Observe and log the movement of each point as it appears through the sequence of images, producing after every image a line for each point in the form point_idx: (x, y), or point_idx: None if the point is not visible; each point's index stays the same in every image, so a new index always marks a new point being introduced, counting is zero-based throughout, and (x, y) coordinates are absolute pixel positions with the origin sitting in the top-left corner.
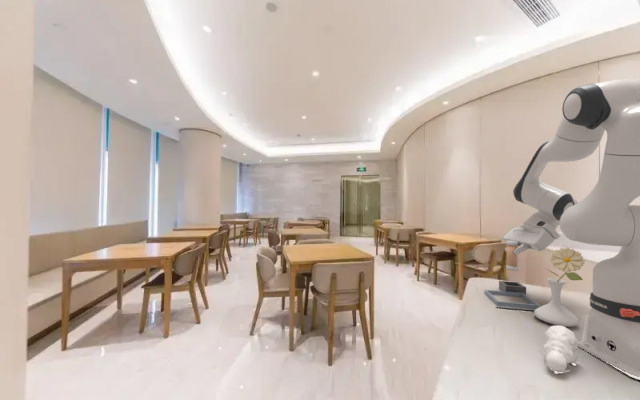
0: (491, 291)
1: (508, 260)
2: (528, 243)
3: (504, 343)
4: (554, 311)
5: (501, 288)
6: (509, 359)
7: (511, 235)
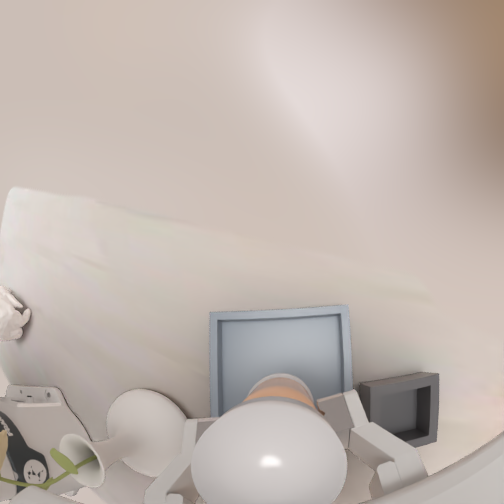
0: (341, 328)
1: (260, 385)
2: (68, 500)
3: (53, 264)
4: (113, 421)
5: (404, 377)
6: (27, 255)
7: (501, 501)
